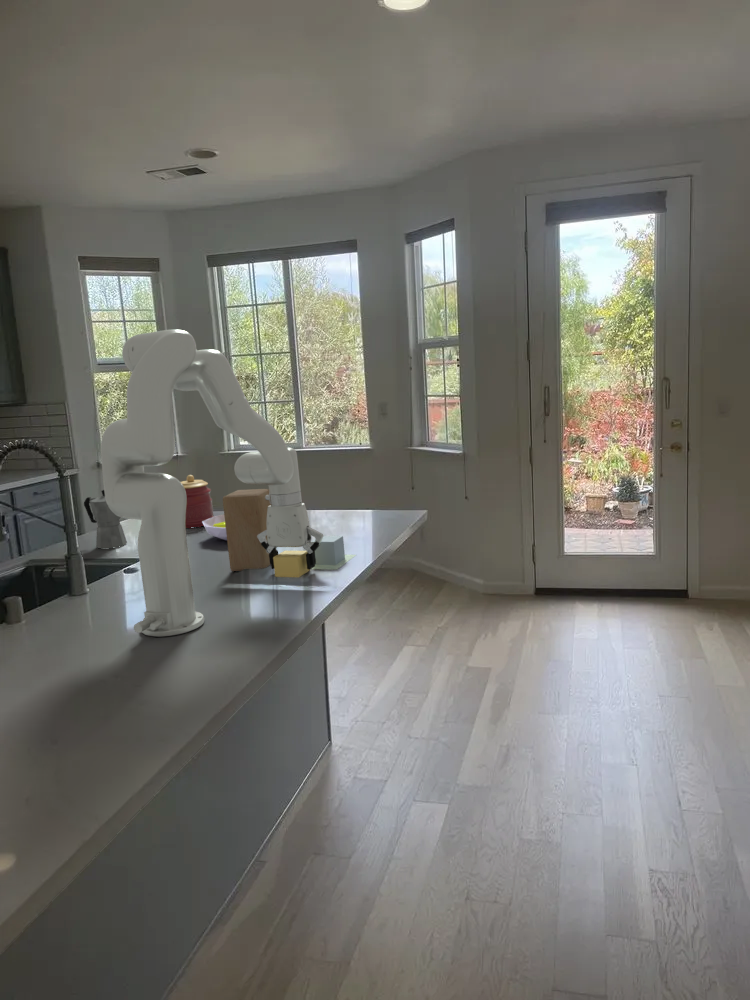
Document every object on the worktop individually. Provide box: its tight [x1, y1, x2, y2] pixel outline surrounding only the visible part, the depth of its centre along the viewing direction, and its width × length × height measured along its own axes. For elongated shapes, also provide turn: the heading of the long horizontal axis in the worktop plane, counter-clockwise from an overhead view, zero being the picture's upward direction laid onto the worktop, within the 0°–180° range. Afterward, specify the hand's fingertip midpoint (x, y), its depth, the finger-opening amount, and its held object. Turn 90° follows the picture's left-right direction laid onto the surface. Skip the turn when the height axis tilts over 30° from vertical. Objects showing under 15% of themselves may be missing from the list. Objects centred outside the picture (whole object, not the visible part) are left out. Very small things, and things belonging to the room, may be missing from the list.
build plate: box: [311, 554, 357, 571], centre depth 189 cm, size 14×14×1 cm
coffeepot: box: [83, 489, 128, 549], centre depth 231 cm, size 15×9×18 cm, turn 67°
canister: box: [180, 474, 215, 529], centre depth 254 cm, size 13×13×18 cm
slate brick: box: [311, 535, 346, 565], centre depth 188 cm, size 6×6×6 cm
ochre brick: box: [273, 550, 310, 578], centre depth 180 cm, size 6×6×6 cm
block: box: [222, 488, 271, 572], centre depth 191 cm, size 10×10×20 cm
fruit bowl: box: [202, 513, 227, 541], centre depth 230 cm, size 28×27×11 cm
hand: (293, 567), depth 180 cm, fingers open, 9 cm apart
